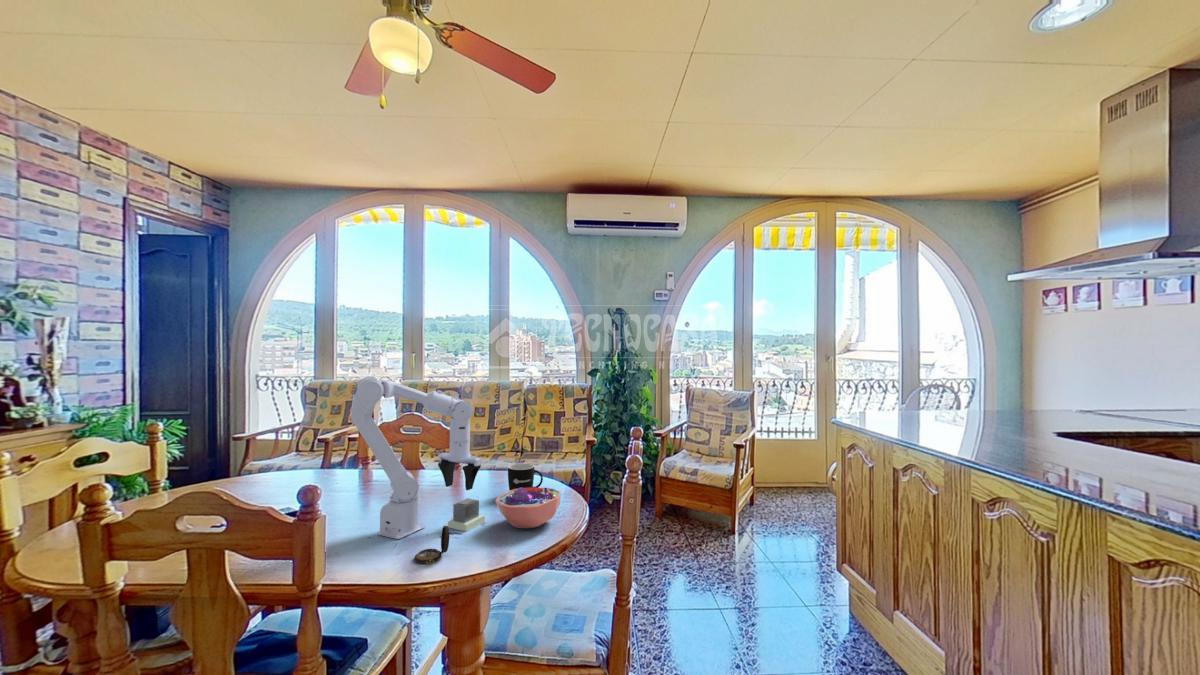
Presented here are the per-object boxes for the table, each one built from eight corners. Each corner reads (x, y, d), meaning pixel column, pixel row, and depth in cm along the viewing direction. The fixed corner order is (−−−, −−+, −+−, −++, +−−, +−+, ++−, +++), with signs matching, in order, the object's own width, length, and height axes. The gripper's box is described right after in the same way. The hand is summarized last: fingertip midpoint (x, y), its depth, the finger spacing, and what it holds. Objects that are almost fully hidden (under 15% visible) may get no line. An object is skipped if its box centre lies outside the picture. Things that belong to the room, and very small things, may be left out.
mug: (508, 501, 161) (508, 470, 161) (506, 492, 170) (506, 463, 170) (544, 498, 164) (544, 468, 164) (540, 490, 173) (541, 462, 173)
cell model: (574, 522, 142) (575, 483, 142) (520, 543, 127) (521, 499, 127) (537, 509, 153) (537, 473, 153) (483, 526, 138) (483, 486, 138)
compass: (412, 556, 119) (413, 526, 119) (446, 550, 122) (446, 521, 122) (416, 569, 112) (416, 538, 112) (451, 563, 115) (452, 532, 115)
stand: (466, 531, 134) (466, 524, 135) (448, 527, 137) (448, 520, 137) (484, 521, 142) (484, 515, 142) (466, 518, 144) (466, 512, 145)
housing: (464, 523, 136) (465, 505, 136) (453, 520, 138) (453, 503, 138) (478, 516, 141) (478, 499, 141) (467, 514, 143) (467, 497, 143)
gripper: (488, 441, 143) (487, 487, 143) (450, 436, 149) (449, 480, 149) (472, 445, 137) (471, 493, 136) (433, 440, 143) (432, 486, 143)
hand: (459, 487), depth 142 cm, fingers open, 7 cm apart
